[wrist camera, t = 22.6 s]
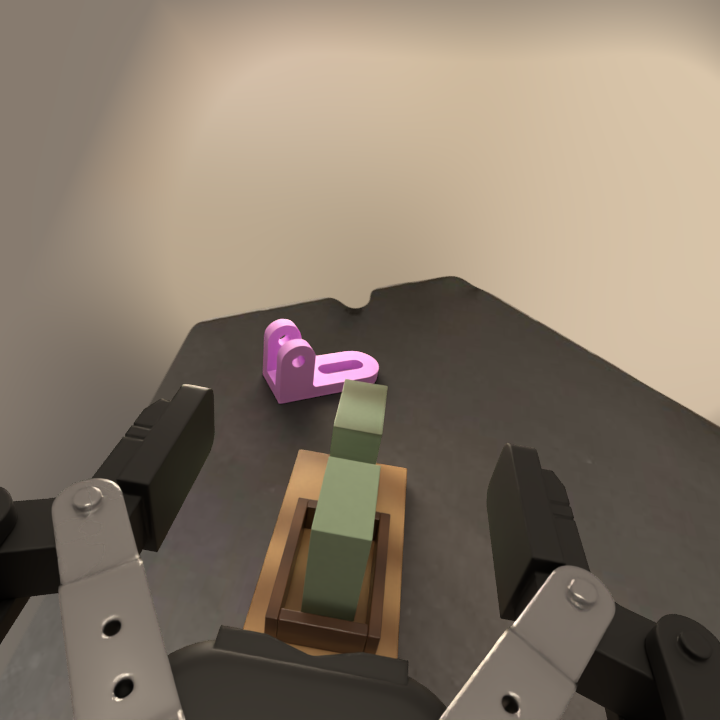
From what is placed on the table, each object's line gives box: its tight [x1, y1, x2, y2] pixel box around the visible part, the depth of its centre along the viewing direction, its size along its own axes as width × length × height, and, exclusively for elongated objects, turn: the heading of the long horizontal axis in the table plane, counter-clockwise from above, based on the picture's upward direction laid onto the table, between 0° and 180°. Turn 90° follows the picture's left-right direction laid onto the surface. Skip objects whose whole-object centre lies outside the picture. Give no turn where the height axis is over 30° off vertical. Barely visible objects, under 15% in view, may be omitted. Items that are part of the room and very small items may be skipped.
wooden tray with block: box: [243, 379, 407, 659], centre depth 37 cm, size 18×10×10 cm, turn 173°
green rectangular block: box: [301, 457, 381, 622], centre depth 34 cm, size 6×4×9 cm, turn 173°
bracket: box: [263, 319, 379, 404], centre depth 57 cm, size 13×6×7 cm, turn 117°
